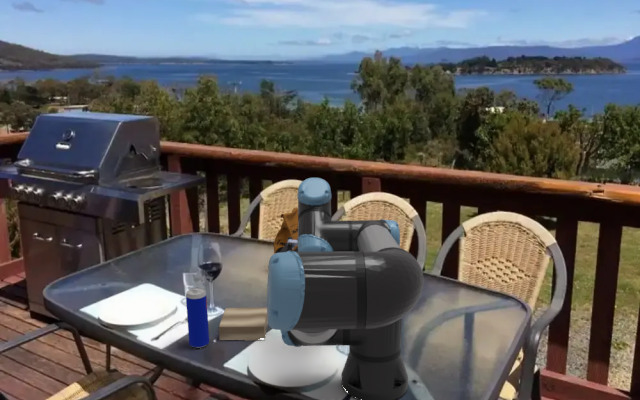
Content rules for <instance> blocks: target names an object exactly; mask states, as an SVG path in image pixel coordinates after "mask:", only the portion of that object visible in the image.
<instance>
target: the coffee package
mask: <svg viewBox="0 0 640 400" xmlns="http://www.w3.org/2000/svg"><path fill="white" fill-rule="evenodd" d="M279 217H280V218H281V219H282V220H283V221H282V223H281V225H280V229H279V230H278V231H277V233H276V235H275V238H274V242H273V252H274V253H273V254H275V253H279V252H280V251H281V250H282V248H283V247H284V246H285V244H286V243H287V241H288V237H292V238H293V240H298V206H297V207H294V208H293V209H292V210H291V212H288V213H281V215H280V216H279ZM297 247H298V245H296V246H295V247H294V249H296V248H297ZM294 249H292V251H293V250H294Z"/></svg>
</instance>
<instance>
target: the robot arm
mask: <svg viewBox="0 0 640 400" xmlns="http://www.w3.org/2000/svg"><path fill="white" fill-rule="evenodd" d="M296 196H297V197H296V198H297V208H298V240H293V238H292V237H288V241H287V243H286V244H285V246H284V247H283V248H282V250H281V251H280V252H279V253H275V254H274V253H273V254H271V256H270V257H269V261H268V265H267V266H268V267H267V268H268V274H267V284H266V287H267V290H266V292H267V293H266V308H267V315H268V325H267V326H269V328H271V330H276V331H278V330H279V331H280V334H281V339H282V342H283V343H284V345H286V346H290V347H295V348H300V347H316V346H317V347H319V346H320V347H321V346H325V347H328V346H329V347H331V346H344V347H345V346H348V349H349V351H348V355H347V358H346V361H345V363H344V365H343V369H342V370H341V371H342V372H341V386H342V385H343V387H344V388H345V389H346V391H348V393H349V394H348V395H349V396H350V395H351V396H350V397H352V396H353V397H356V398H358V399H362V400H398V399H400V398H401V397H403V396H404V395H405V394H406V392H407V390H408V387H409V377H408V376H409V375H408V373H407V369H406V366H405V363H404V360H403V356H402V323H403V322H402V321H403V320H402V319H403V317H405V316H406V315H407V314H408V313H409V312H410V311H412V309H414V307H415V305H416V304H417V303H418V302H419V299H420V298H421V296H422V295H423V294H422V293H423V289H424V282H425V278H424V273H423V269H422V267H421V264H419V262H418V260H417V259H416V257H415V256H414V255H413V254H412V253H410V251H408V250H405V249H404V248H401V247H400V243H401V232H400V225H399V223H398V222H397V221H396V220H395V219H394V220H392V219H382V218H380V219H371V220H370V219H368V220H367V219H365V220H364V219H363V220H360V219H359V220H351V219H350V220H332V201H331V200H332V191H331V186H330V184H329V182H328V181H326V180H325V179H323V178H321V177H309V178H306V179H305V180H303V181H301V182H300V184H299V185H298V187H297V195H296ZM296 245H298V247H297V248H296V249H294V247H295V246H296ZM292 249H294V250H293V251H292ZM343 387H342V388H343ZM353 397H352V398H353ZM356 398H355V399H356ZM358 399H357V400H358Z"/></svg>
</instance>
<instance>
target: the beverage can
mask: <svg viewBox="0 0 640 400" xmlns="http://www.w3.org/2000/svg"><path fill="white" fill-rule="evenodd" d="M207 298H208V297H207V292H206V289H205V288H200V287H197V288H196V287H195V288H191V289H188V290H187V291H186V294H185V301H186V315H187V332H188V344H189V345H188V346H190V347H191V346H192V347H203V346H206V345H207V344H208V345H209V343H210V333H209V330H210V329H209V316H208V315H209V313H208V300H207ZM208 345H207V346H208ZM207 346H206V347H207ZM192 347H191V348H192Z"/></svg>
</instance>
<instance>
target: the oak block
mask: <svg viewBox="0 0 640 400" xmlns="http://www.w3.org/2000/svg"><path fill="white" fill-rule="evenodd" d="M268 326H269V325H268V315H267V307H225V309H224V311H223V315H222V317H221V320H220V323H219V326H218V334H219V341H220V340H245V341H259V340H258V339H260V338H265V339H266V336H267V330H268ZM265 335H266V336H265Z"/></svg>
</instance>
